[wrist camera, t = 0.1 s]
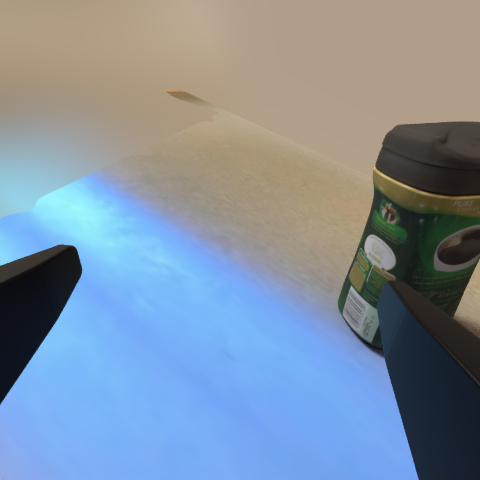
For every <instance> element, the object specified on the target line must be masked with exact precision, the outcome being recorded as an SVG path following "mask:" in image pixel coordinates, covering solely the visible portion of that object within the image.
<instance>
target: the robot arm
mask: <svg viewBox="0 0 480 480" xmlns="http://www.w3.org/2000/svg"><path fill="white" fill-rule="evenodd" d="M81 274H82V266H81V263H80V259H79V255H78V252H77V249H76V248H75V247H74V246H71V245H57V246H54V247H52V248H49V249H46V250H43V251H40V252H38V253H35V254H32V255H29V256H26V257H24V258H21V259H18V260H15V261H12V262H10V263H7V264H4V265H1V266H0V404H1V403H2V401H3V400H4V398H5V397H6V395H7V394H8V392H9V391H10V389H11V388H12V386H13V385H14V383H15V382H16V380H17V379H18V378H19V376H20V375H21V373H22V372H23V370H24V369H25V367H26V366H27V364H28V363H29V361H30V360H31V358H32V357H33V355H34V354H35V352H36V351H37V349H38V348H39V346H40V345H41V343H42V342H43V340H44V339H45V337H46V336H47V335H48V333H49V332H50V330H51V329H52V327H53V326H54V324H55V323H56V321H57V319H58V318H59V316H60V314H61V312H62V311H63V309H64V307H65V305H66V303H67V301H68V299H69V298H70V296H71V294H72V292H73V290H74V288H75V286H76V284H77V283H78V281H79V279H80V277H81ZM377 313H378V320H379V326H380V332H381V338H382V345H383V351H384V357H385V362H386V365H387V369H388V373H389V376H390V380H391V383H392V387H393V390H394V394H395V398H396V401H397V405H398V408H399V412H400V415H401V419H402V422H403V426H404V429H405V433H406V436H407V440H408V443H409V447H410V450H411V454H412V457H413V461H414V465H415V468H416V472H417V475H418V479H419V480H480V338H478V337H477V336H476V335H474V334H473V333H472V332H470V331H469V330H467V329H466V328H465V327H463V326H462V325H461V324H459V323H458V322H457V321H455V320H454V319H453V318H451V317H450V316H449V315H447V314H446V313H445V312H443V311H442V310H441V309H439V308H438V307H437V306H435V305H434V304H433V303H431V302H430V301H429V300H427V299H426V298H425V297H423V296H422V295H420V294H419V293H418V292H416V291H415V290H414V289H412V288H411V287H410V286H408V285H407V284H406V283H404V282H402V281H395V280H388V281H386V282H385V284H384V286H383V289H382V292H381V294H380V297H379V300H378V303H377Z"/></svg>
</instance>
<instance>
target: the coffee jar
mask: <svg viewBox="0 0 480 480" xmlns="http://www.w3.org/2000/svg"><path fill="white" fill-rule="evenodd" d="M382 144H383V146H382V148H381V151H380V153H379V156H378V159H377V161H376V165H375V167H374V170H373V184H374V198H373V203H372V207H371V211H370V214H369V218H368V220H367V223H366V226H365V229H364V232H363V235H362V238H361V240H360V243H359V246H358V249H357V251H356V254H355V257H354V259H353V262H352V264H351V267H350V269H349V271H348V274H347V276H346V279H345V281H344V284H343V287H342V290H341V293H340V297H339V300H338V307H339V310H340V312H341V314H342V316H343V318H344V320H345V321H346V323H347V324H348V326H349V327H350V328H351V329H352V331H353V332H354V333H355V334H356V335H358V336H359V337H360V338H361V339H363V340H364V341H365V342H367V343H369V344H370V345H372V346H375V347H377V348H379V349H383V345H382V338H381V332H380V326H379V320H378V313H377V303H378V300H379V297H380V294H381V292H382V289H383V286H384V284H385V282H386V281H388V280H395V281H402V282H404V283H406V284H407V285H408V286H410V287H411V288H412V289H414V290H415V291H416V292H418V293H419V294H420V295H422V296H423V297H425V298H426V299H427V300H429V301H430V302H431V303H433V304H434V305H435V306H437V307H438V308H439V309H441V310H442V311H443V312H445V313H446V314H447V315H449V316H450V317H451V318H453V317H454V314H455V312H456V310H457V307H458V305H459V303H460V300H461V298H462V296H463V293H464V291H465V289H466V286H467V284H468V282H469V280H470V278H471V276H472V274H473V272H474V269H475V267H476V265H477V263H478V261H479V259H480V122H441V123H425V124H407V125H406V124H405V125H397V126H395V127H394V128H393V129H392V130H391V131H389V132H388V133H387V134H386V136H385V139H384V141H383V143H382Z"/></svg>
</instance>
